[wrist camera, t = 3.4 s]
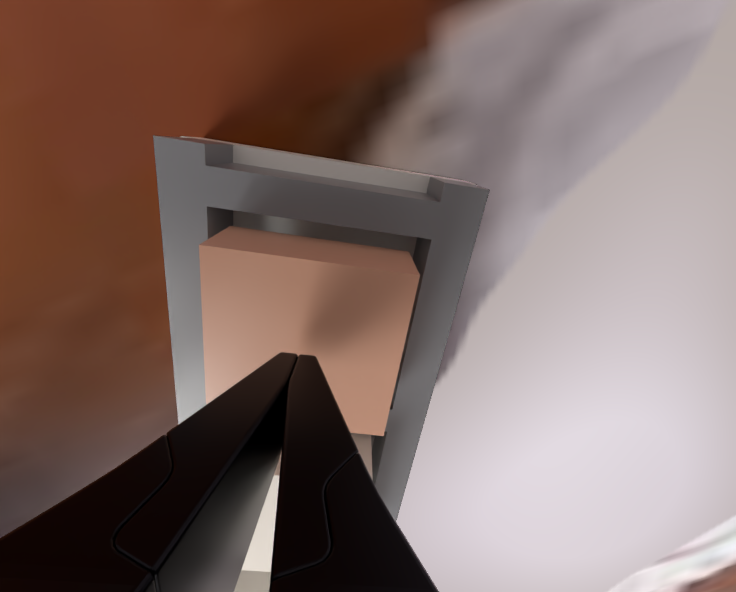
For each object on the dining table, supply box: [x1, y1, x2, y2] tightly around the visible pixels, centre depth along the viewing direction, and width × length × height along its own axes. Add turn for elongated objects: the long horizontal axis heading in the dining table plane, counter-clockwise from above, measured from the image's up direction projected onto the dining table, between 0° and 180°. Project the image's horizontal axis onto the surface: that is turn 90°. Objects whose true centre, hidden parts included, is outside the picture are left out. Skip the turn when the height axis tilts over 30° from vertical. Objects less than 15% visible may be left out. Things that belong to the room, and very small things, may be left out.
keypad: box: [153, 135, 490, 521], centre depth 16 cm, size 30×9×4 cm, turn 171°
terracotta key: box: [199, 226, 420, 436], centre depth 10 cm, size 5×5×2 cm
